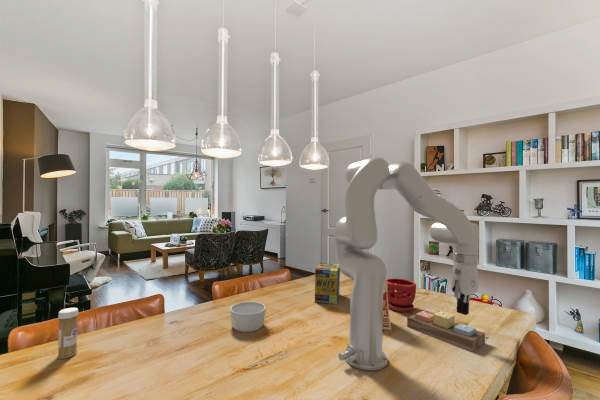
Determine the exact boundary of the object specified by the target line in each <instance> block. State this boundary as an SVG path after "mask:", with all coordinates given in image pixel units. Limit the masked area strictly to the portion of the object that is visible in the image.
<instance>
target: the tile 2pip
mask: <svg viewBox="0 0 600 400" xmlns="http://www.w3.org/2000/svg"><path fill="white" fill-rule="evenodd" d="M433 314H434V320H433V324H435V325H438V326H441V327H444V328H447V329H448V328H450V327H452V326H454V323H455V315H454V314H451V313H447V312H445V311H442V310H440V311H437V312H435V313H433Z"/></svg>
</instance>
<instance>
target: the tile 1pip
mask: <svg viewBox="0 0 600 400" xmlns="http://www.w3.org/2000/svg"><path fill="white" fill-rule="evenodd" d="M457 324H458V325H456V326H454V327H453V332H456V333H458V334H461V335H464V336H467V337H469V338H470V337H472V336H473V335H475V334H476V330H477V329H476V328H475V327H473V326H470V325H468V324H467V325H466V324H464V323H460V322H459V323H457Z"/></svg>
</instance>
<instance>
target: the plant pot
mask: <svg viewBox="0 0 600 400" xmlns="http://www.w3.org/2000/svg"><path fill="white" fill-rule="evenodd" d="M386 281H387V296H388V308H389V309H391V310H394V311H396V312H401V313H402V312H410V311H412V310H413V309H414V308H415V306H414V304H413V303H414V301H415V298H416V293H417V284H416V282H415V281H413V280H409V279H403V278H386Z"/></svg>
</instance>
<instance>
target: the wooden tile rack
mask: <svg viewBox="0 0 600 400" xmlns="http://www.w3.org/2000/svg"><path fill="white" fill-rule="evenodd" d="M406 320H407V321H406V327H407V328H409V329H413V330H415V331H417V332H420V333H423V334H425V335H427V336H431V337H433V338H434V339H435V338H436V339H438V340H441V341H443V342H445V343H448V344H451V345H453V346H456V347H458V348H461V349H463V350H466V351H468V352H471V353H473V352H474V351H475V350H477V349H478V348H480V347H481V346H483V345H484V344H485V342H486V339H485V338H486V333H485V332H483V331H480V330H477V329H476V334H475V335H473V336H472V337H470V338H469V337H467V336H464V335H461V334H458V333H456V332H453V327H454V326H456V325H458V324H459V323H456V322H454V326H452V327H450V328H448V329H447V328H444V327H441V326H438V325H435V324H433V321H432V322H429V323H428V322H425V321H422V320H419V319H416V313H415V314H412V315H410V316H408V317H407V318H406Z"/></svg>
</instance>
